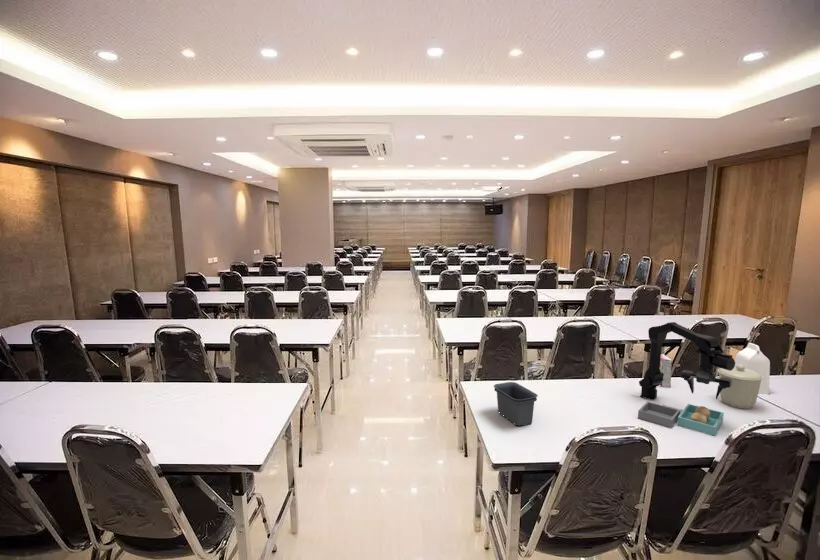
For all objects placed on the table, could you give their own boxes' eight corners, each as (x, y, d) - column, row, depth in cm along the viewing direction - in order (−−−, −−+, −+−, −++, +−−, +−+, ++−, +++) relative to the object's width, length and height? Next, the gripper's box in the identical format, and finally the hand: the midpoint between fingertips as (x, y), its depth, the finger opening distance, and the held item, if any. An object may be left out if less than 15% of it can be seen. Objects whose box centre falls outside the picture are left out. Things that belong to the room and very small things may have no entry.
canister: (708, 396, 216) (711, 358, 213) (746, 398, 212) (749, 360, 209) (727, 410, 198) (730, 369, 196) (769, 413, 194) (773, 371, 192)
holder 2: (677, 425, 184) (677, 417, 184) (687, 411, 198) (688, 403, 197) (714, 436, 174) (715, 427, 174) (723, 420, 188) (723, 412, 187)
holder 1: (637, 418, 191) (638, 410, 191) (646, 409, 201) (647, 401, 200) (671, 428, 181) (672, 419, 181) (679, 418, 191) (680, 410, 190)
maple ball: (691, 416, 192) (692, 404, 191) (704, 416, 192) (704, 404, 191) (700, 421, 186) (701, 409, 185) (713, 421, 186) (714, 409, 185)
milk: (731, 385, 230) (735, 341, 227) (753, 385, 229) (757, 341, 226) (745, 393, 218) (749, 347, 215) (769, 394, 217) (773, 347, 214)
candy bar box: (653, 380, 239) (655, 353, 237) (662, 380, 238) (664, 354, 236) (661, 387, 228) (662, 359, 227) (670, 387, 227) (672, 360, 226)
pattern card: (659, 409, 200) (659, 408, 200) (662, 405, 205) (662, 404, 205) (680, 415, 194) (680, 413, 194) (683, 411, 198) (683, 409, 198)
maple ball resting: (688, 425, 183) (689, 413, 182) (691, 421, 187) (692, 408, 186) (704, 430, 179) (705, 417, 178) (707, 425, 183) (708, 412, 182)
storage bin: (490, 411, 201) (490, 384, 199) (516, 406, 206) (516, 379, 205) (516, 430, 181) (516, 400, 180) (543, 424, 187) (544, 395, 185)
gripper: (678, 363, 187) (676, 395, 189) (729, 372, 174) (726, 407, 175) (684, 358, 195) (682, 388, 196) (733, 366, 181) (730, 399, 183)
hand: (704, 395), depth 188 cm, fingers open, 9 cm apart
